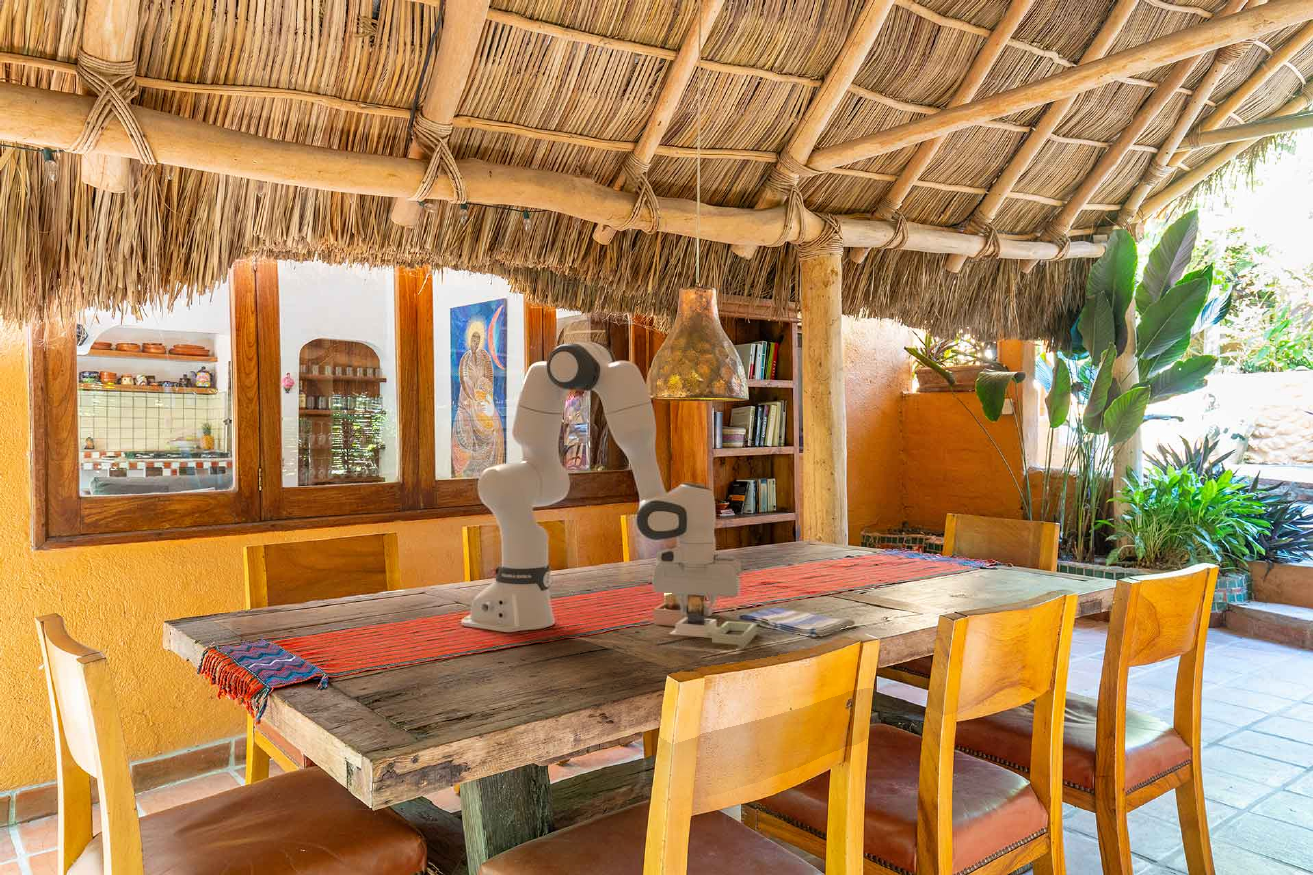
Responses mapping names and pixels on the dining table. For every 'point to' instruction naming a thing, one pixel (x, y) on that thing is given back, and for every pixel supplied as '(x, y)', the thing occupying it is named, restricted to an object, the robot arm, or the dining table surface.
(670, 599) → the cell
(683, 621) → the cradle
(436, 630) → the dining table surface
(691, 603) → the cell
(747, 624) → the trough
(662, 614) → the pink open box
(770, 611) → the dish towel
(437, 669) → the dining table surface
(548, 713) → the dining table surface
